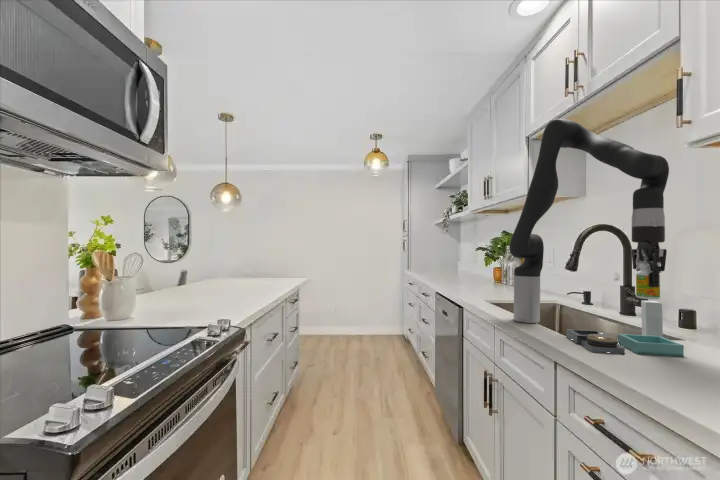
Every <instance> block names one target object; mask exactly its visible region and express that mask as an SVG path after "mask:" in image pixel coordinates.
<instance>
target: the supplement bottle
mask: <svg viewBox="0 0 720 480" xmlns="http://www.w3.org/2000/svg"><path fill="white" fill-rule="evenodd" d="M639 268H640V271H638V272H637V271H636V273H635V284H636V285H635V297H636V299H641V300H654V301H657V300H660V299H661V275H660V274H661V273H659V287H649V271H648V266H647V265H645V263H639Z"/></svg>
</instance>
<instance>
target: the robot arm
mask: <svg viewBox="0 0 720 480" xmlns="http://www.w3.org/2000/svg"><path fill="white" fill-rule="evenodd" d="M562 148H565V149H566V148H570V149H575V150H579V151H580V150H581V151H583V152H586V153H588V154H589V155H590V156H591V157H593V158H594V159H596V160H597V161H599V162H601V163H603V164H606V165H607V166H611V167H612V168H615V169H617V170H619V171H620V172H622V173H624V174H625V175H627V176H630V177H632V178H634V179H638V180H641V183H640V187H639V188H637V189H635V190H634V191H633V193H632V214H631V242H632V243H636V244H637V246H636V247H637V248H632V249H631V260H632V261H631V262H632V269H633V270H635V271H636V273H637V272H638V271H640V268H639V263H645V265H647V266H648V271H649V287H659V273H660V274H661V273H662V272H665V268H666V263H667V253H668V251H667V249H666V248H661V247H660V243H661V244H662V243H665V241H666V225H665V224H666V223H665V222H666V217H665V211H664V207H665V205H664V194H665V193H664V192H665V189H666V186H667V184H668V183H667V182H668V178H669V175H670V166H669V163H668V160H667V159H666V158H665V157H663V156H661V155H658V154H657V155H656V154H652V153H648V152H643V151H640V150H639V149H635V148H634V147H632V146H630V145H629V144H625V143H624V142H623V143H622V142H620V141H618V140H614V139H611V138H609V137H605V136H602V135H600V134H597V133H595V132H594V131H591V130H590V129H588V128H586V127H585V126H583V125H582V124H580V123H578V122H577V121H575V120H570V119H564V118H553V119H552V120H550V121H549V122H548V123H547V124H546V126H545V128H544V130H543V133H542V138H541V141H540V148H539V153H538V157H537V161H536V165H535V169H534V171H533V176H532V178H531V182H530V183H529V188H528V190H527V195H526V198H525V202H524V205H523V208H522V211H521V214H520V216H519V219H518V222H517V224H516V226H515V228H514V231H513V234H512V235H511V238H510V240H509V241H510V242H509V252H510V254H511V256H513V257H514V258H518V259H523V262H522V264H520V265H519V266H516V267H515V268H514V272H513V321H515V322H520V323H527V324H538V323H540V321H541V320H540V319H541V316H540V315H541V273H542V270H543V265H544V252H545V251H544V250H545V248H544V246H545V245H544V241H543V238H542V237H541V236H540V235H539V234H535V233H532V232H533V230H534V227H535V226H536V224H538V222H539V220H540V219H541V218H543V216H544V215H545V214H546V213H547V212H548V211H549V210H550V208H551V207H552V206H553V204H554V201H555V198H556V195H557V193H558V190H559V178H558V173H557V171H558V170H557V159H558V156H559V153H560V149H562Z"/></svg>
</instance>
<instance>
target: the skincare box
mask: <svg viewBox="0 0 720 480" xmlns="http://www.w3.org/2000/svg"><path fill="white" fill-rule="evenodd" d="M640 308H641V310H640V311H641V312H640V313H641V335H649V336H661V337H664V332H663V328H664V326H663V303H662V302H659V301H657V300H646V299H641V301H640Z"/></svg>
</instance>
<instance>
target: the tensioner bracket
mask: <svg viewBox="0 0 720 480" xmlns="http://www.w3.org/2000/svg"><path fill="white" fill-rule="evenodd" d="M565 330H566V331H565V332H566V334H565V335H566V338H567V339H569V340H570V339H573V340H571V341H572V342H573V343H575V344H576V345H580V346H581V347H583V348H584V349H586V350H588V351H589V352H591V353H596V352H610V353H609V354H613V353H620V354H619V355H625V353H626V352H625V350H626V348H625V347H623V346H621V345H619V344H618V337H615V336H613V335H608V334H607V333H606V332H603V331H600V330H595V329H593V330H592V329H591V330H589V329H572V328H566V329H565Z"/></svg>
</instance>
